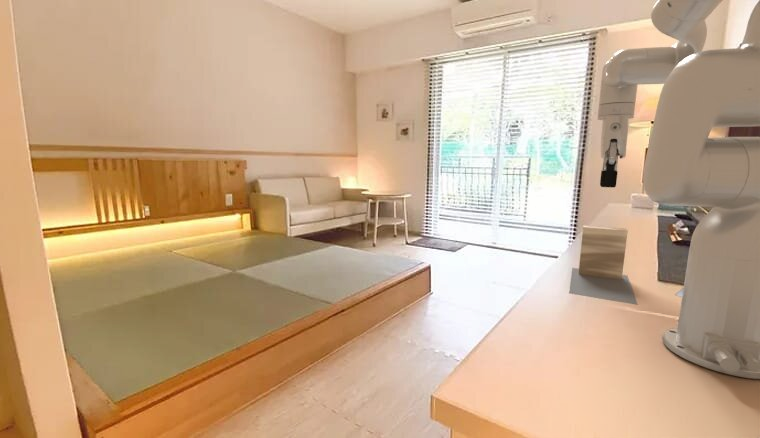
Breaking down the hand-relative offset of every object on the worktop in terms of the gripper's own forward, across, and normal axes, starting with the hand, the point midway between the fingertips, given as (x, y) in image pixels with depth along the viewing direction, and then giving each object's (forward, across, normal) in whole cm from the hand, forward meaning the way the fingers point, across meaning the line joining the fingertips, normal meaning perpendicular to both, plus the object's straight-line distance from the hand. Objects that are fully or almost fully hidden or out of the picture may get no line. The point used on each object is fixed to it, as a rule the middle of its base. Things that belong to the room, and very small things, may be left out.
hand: (607, 185), depth 90 cm
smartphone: (+23, -9, -19) cm, 31 cm away
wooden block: (+22, -7, 0) cm, 23 cm away
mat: (+22, -14, 0) cm, 26 cm away
